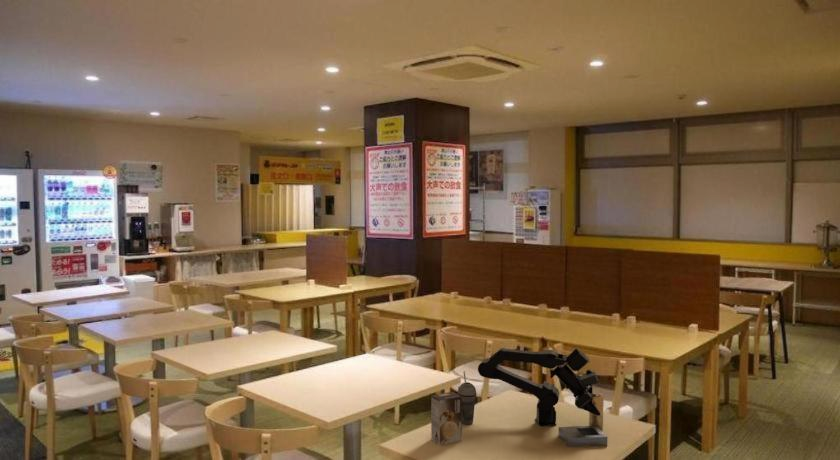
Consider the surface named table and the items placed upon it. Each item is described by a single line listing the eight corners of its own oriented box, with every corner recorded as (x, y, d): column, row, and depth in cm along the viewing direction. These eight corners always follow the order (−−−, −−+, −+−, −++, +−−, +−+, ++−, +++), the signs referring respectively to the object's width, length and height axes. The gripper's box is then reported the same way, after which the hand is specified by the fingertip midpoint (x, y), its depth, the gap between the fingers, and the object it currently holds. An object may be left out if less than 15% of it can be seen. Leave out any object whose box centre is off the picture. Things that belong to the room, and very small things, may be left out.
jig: (568, 446, 206) (568, 438, 206) (558, 435, 216) (558, 426, 216) (607, 445, 207) (607, 436, 207) (595, 433, 217) (596, 425, 217)
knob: (591, 431, 220) (592, 397, 219) (586, 426, 225) (587, 393, 224) (605, 430, 220) (605, 397, 220) (599, 425, 225) (600, 392, 224)
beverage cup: (475, 427, 222) (475, 374, 221) (455, 426, 224) (456, 373, 223) (477, 420, 229) (477, 369, 228) (458, 419, 231) (459, 367, 230)
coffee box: (452, 434, 216) (453, 391, 215) (462, 441, 210) (462, 396, 209) (430, 439, 211) (430, 394, 211) (439, 446, 206) (439, 400, 205)
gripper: (585, 371, 213) (617, 405, 211) (585, 358, 231) (615, 389, 229) (562, 391, 216) (593, 424, 214) (564, 376, 234) (593, 407, 231)
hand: (599, 410), depth 222 cm, fingers open, 9 cm apart
